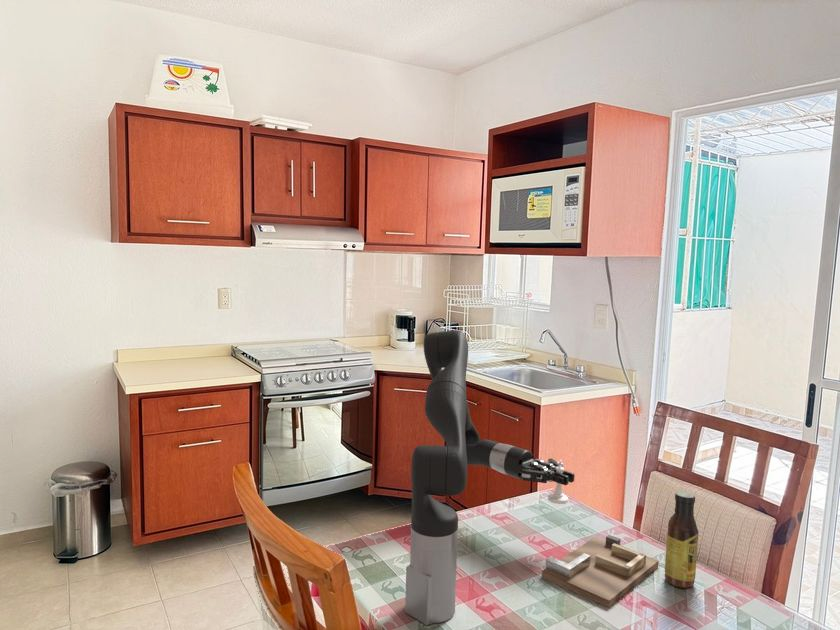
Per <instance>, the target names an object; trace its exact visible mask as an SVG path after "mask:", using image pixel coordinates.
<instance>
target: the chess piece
mask: <svg viewBox="0 0 840 630" xmlns="http://www.w3.org/2000/svg"><path fill="white" fill-rule="evenodd" d="M556 462H557V464H559V467H556V471H557V473H560V474H563V472H564V470H565V468H564V466H565V463H563V460H562V459H559V461H556ZM561 466H563V467H561ZM562 487H563V484H560V483H557V482H556V486H555V490H554V492H552V493H550V494H548V497H547V500H548V502H550V503H553V504H557V505H565V504H568V503H569V501H570V500H569V496H567V495H565V494H564V492H563V488H562Z"/></svg>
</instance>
